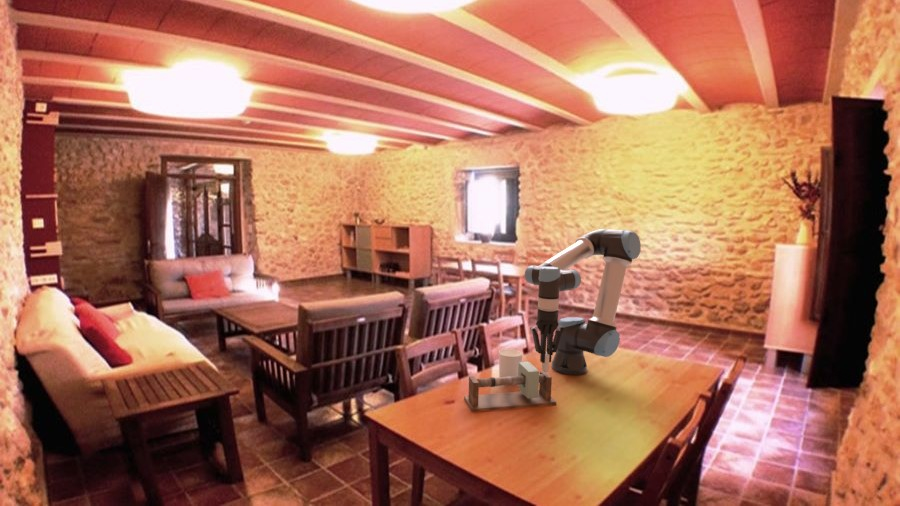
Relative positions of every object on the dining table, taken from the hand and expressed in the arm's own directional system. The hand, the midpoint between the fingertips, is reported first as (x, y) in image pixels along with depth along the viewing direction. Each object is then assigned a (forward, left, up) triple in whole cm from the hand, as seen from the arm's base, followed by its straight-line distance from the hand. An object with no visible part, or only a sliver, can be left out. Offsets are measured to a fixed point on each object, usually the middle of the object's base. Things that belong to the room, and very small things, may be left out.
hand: (545, 370), depth 167 cm
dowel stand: (+14, 0, -11) cm, 18 cm away
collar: (+7, 0, -8) cm, 10 cm away
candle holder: (+7, -19, -11) cm, 23 cm away
